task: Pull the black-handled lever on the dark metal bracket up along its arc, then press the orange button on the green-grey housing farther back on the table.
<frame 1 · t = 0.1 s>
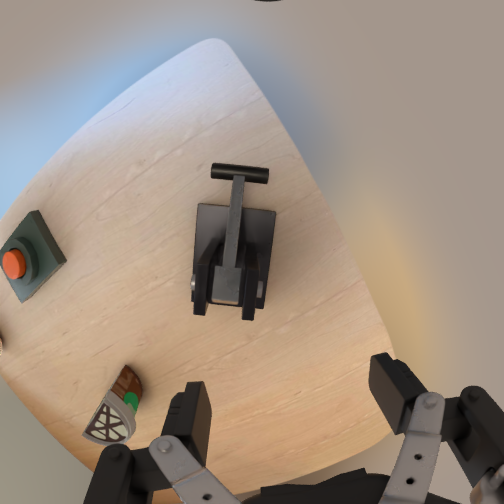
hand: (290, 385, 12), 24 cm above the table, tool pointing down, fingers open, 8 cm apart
lever: (233, 228, 26), point 9 cm above the table, hinge at -28.0°
button: (14, 264, 30), point 4 cm above the table, slide at 0.1 cm
button box: (31, 256, 35), on the table
bracket: (232, 256, 35), on the table
food container: (130, 390, 40), on the table
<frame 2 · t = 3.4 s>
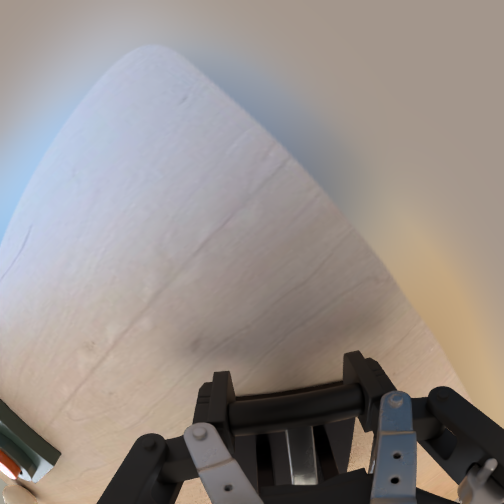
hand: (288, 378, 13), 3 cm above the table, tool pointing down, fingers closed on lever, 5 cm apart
button: (5, 463, 15), point 4 cm above the table, slide at 0.1 cm
button box: (20, 441, 19), on the table
bracket: (290, 444, 18), on the table
cream ball: (26, 489, 24), on the table
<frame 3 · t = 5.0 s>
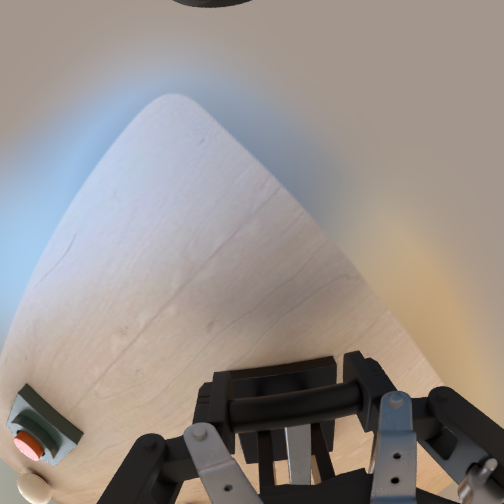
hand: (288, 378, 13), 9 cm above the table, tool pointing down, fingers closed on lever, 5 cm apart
lever: (299, 477, 12), point 11 cm above the table, hinge at -0.5°, touching gripper
button: (28, 445, 20), point 4 cm above the table, slide at 0.1 cm
button box: (43, 425, 25), on the table
bracket: (284, 414, 24), on the table
cream ball: (39, 477, 29), on the table
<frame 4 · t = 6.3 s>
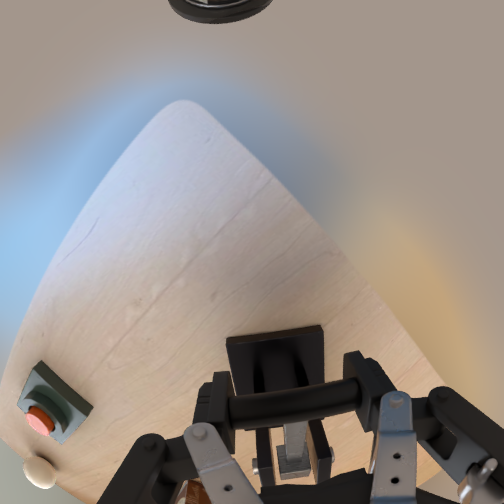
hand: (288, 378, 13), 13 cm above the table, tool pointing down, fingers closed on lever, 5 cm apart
lever: (294, 443, 14), point 13 cm above the table, hinge at 22.0°, touching gripper
button: (39, 421, 24), point 4 cm above the table, slide at 0.1 cm
button box: (54, 402, 29), on the table
bracket: (279, 380, 28), on the table
food container: (199, 494, 33), on the table
cream ball: (45, 460, 33), on the table
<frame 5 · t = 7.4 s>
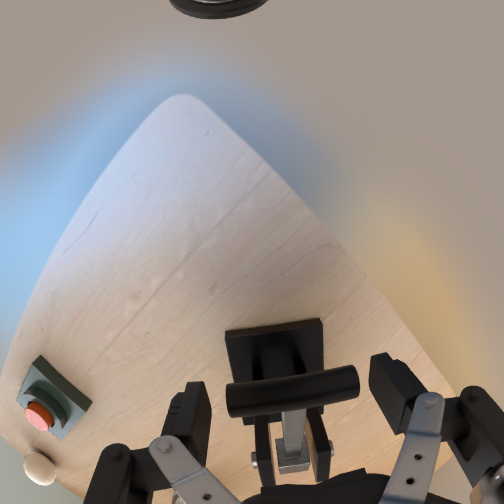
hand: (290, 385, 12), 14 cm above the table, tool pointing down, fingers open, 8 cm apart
lever: (292, 435, 14), point 13 cm above the table, hinge at 21.5°
button: (39, 416, 25), point 4 cm above the table, slide at 0.1 cm
button box: (53, 398, 29), on the table
bracket: (278, 374, 28), on the table
food container: (198, 490, 34), on the table
cream ball: (45, 457, 33), on the table
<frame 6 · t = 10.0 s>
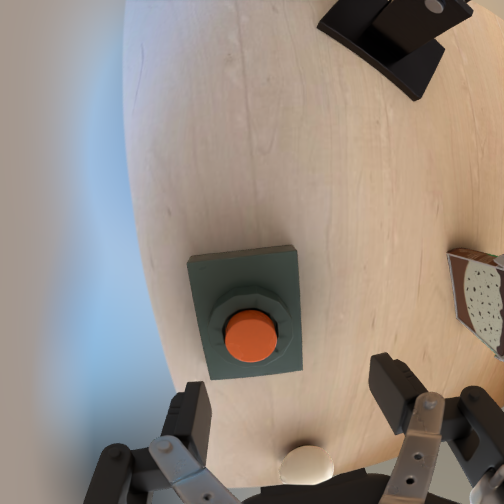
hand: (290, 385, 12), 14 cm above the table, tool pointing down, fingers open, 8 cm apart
button: (250, 336, 23), point 4 cm above the table, slide at 0.1 cm
button box: (249, 312, 27), on the table
bracket: (385, 37, 21), on the table
food container: (468, 275, 27), on the table
cream ball: (301, 450, 33), on the table
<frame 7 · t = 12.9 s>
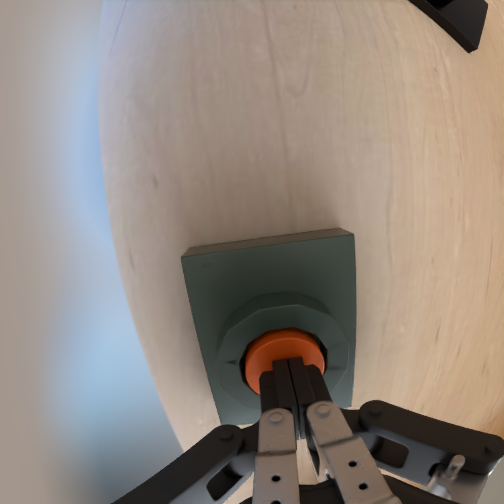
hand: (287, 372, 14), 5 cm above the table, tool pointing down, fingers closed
button: (283, 362, 14), point 4 cm above the table, slide at -0.8 cm, touching gripper
button box: (276, 331, 18), on the table
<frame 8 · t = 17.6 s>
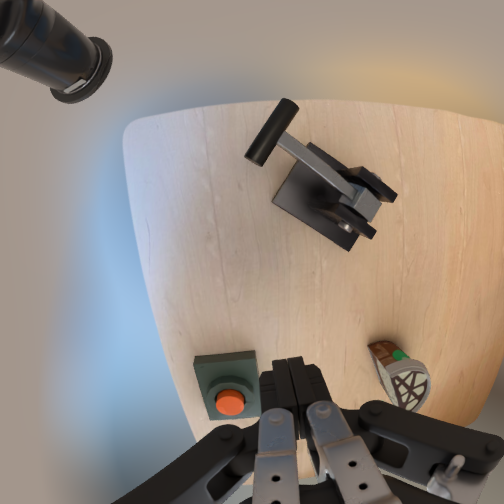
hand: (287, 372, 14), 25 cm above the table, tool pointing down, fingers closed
lever: (324, 171, 23), point 13 cm above the table, hinge at 21.5°
button: (230, 402, 38), point 4 cm above the table, slide at 0.1 cm
button box: (231, 384, 42), on the table
bracket: (328, 197, 36), on the table
food container: (389, 355, 42), on the table
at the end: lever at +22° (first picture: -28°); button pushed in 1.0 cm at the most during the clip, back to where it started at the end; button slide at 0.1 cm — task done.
